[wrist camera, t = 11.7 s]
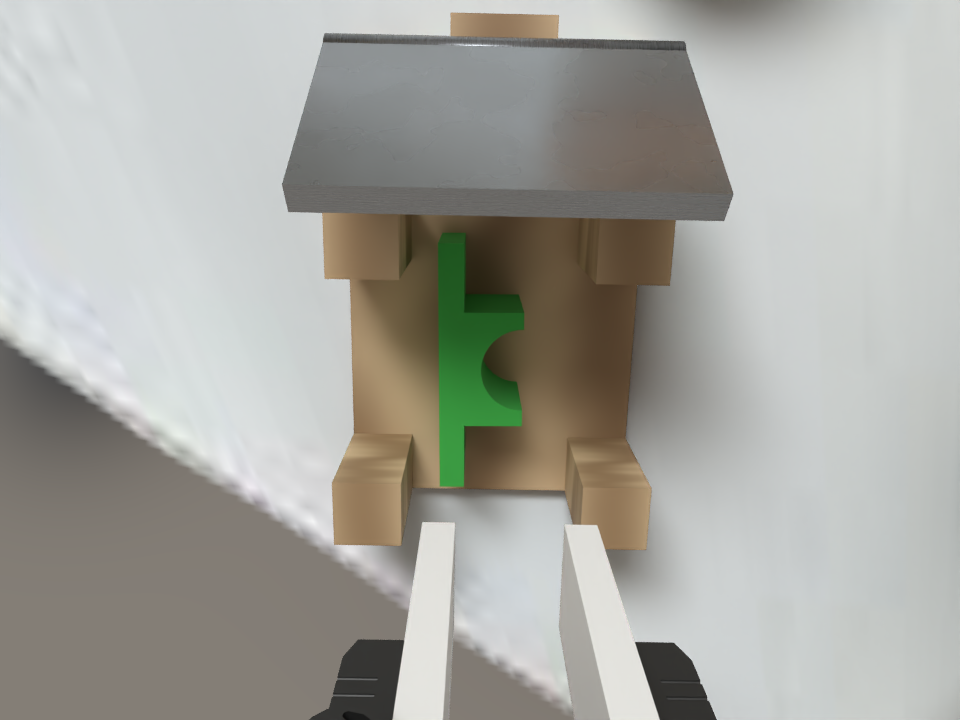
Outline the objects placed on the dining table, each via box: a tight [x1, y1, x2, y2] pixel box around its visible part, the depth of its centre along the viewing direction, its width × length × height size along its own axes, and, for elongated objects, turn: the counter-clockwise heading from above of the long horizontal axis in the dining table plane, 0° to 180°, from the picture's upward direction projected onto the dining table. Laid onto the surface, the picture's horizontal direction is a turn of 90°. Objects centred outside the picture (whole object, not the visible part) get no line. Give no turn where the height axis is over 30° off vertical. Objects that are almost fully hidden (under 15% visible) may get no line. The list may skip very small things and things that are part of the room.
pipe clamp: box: [438, 233, 524, 487], centre depth 35 cm, size 11×4×5 cm, turn 0°
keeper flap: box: [282, 33, 733, 221], centre depth 25 cm, size 13×9×1 cm
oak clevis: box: [322, 13, 676, 550], centre depth 34 cm, size 14×22×7 cm, turn 179°
